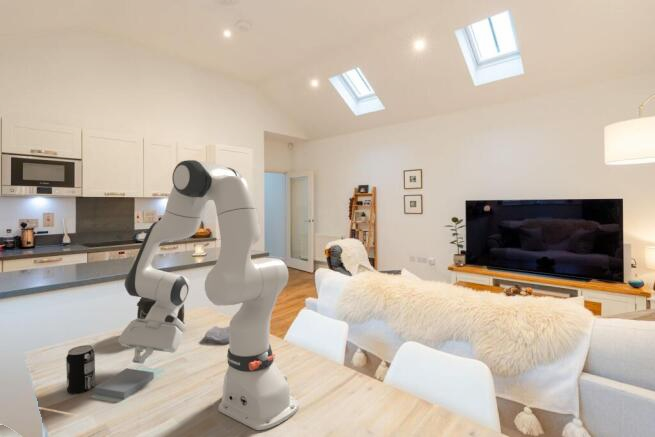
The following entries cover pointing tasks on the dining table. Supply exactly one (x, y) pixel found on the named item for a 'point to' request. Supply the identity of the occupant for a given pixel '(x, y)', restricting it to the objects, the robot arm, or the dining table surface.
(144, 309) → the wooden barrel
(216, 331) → the stone block
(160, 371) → the mat
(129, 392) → the slate tile
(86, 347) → the beverage can
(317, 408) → the dining table surface
